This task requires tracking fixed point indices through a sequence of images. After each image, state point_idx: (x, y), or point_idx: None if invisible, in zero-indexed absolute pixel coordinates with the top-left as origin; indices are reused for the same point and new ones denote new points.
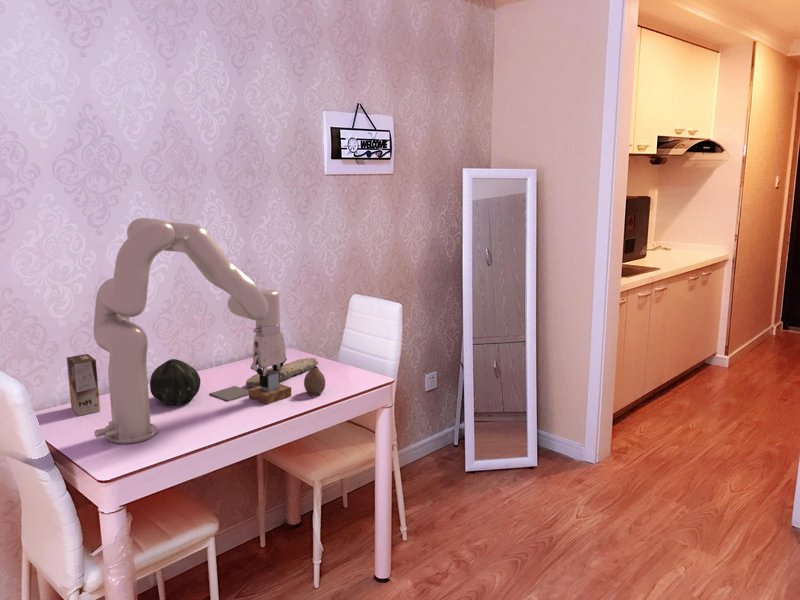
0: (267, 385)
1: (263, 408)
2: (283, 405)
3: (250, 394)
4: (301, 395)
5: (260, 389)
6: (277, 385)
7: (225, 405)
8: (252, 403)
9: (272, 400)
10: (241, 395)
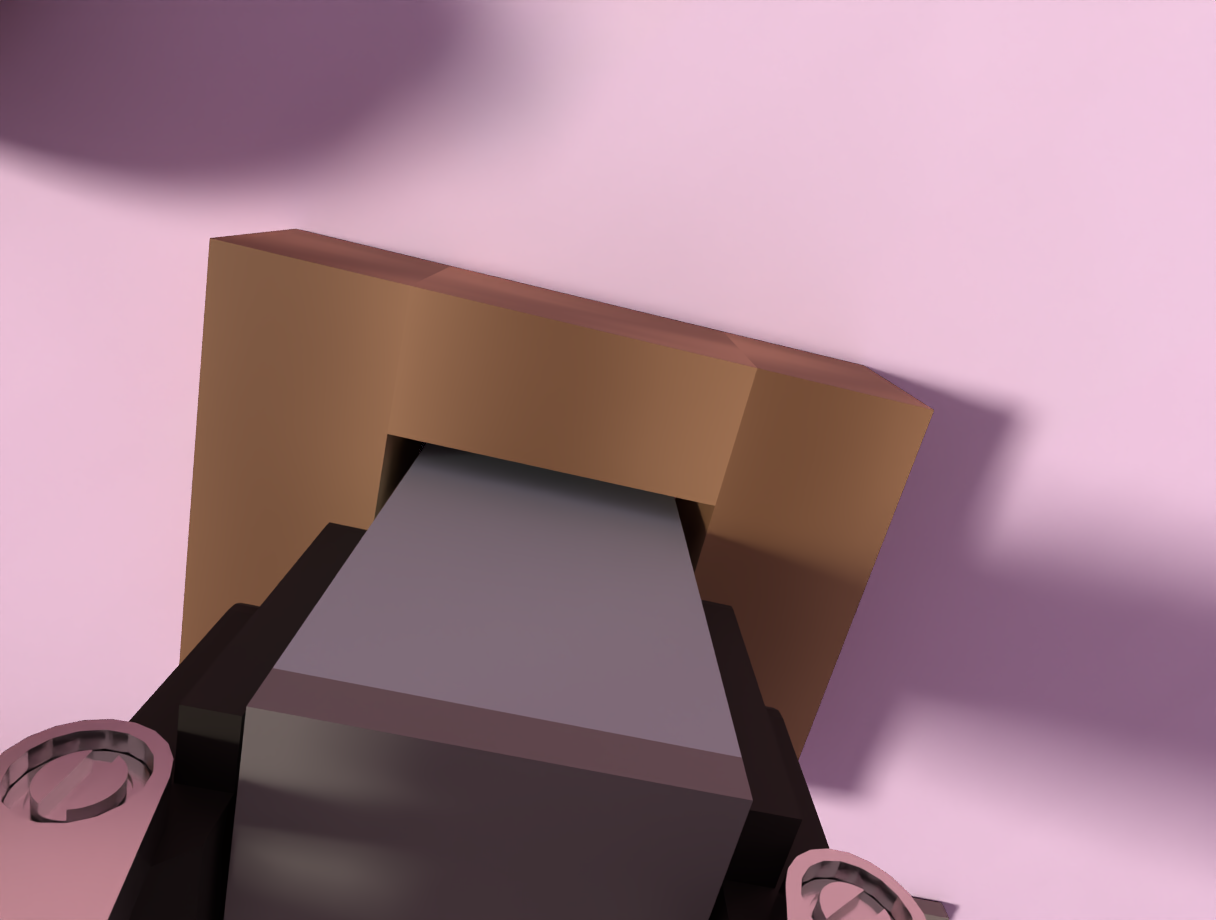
0: (706, 618)
1: (1047, 309)
2: (785, 58)
3: None
4: (133, 72)
5: None
6: (436, 500)
7: (1087, 848)
8: (893, 602)
9: (757, 344)
10: None
